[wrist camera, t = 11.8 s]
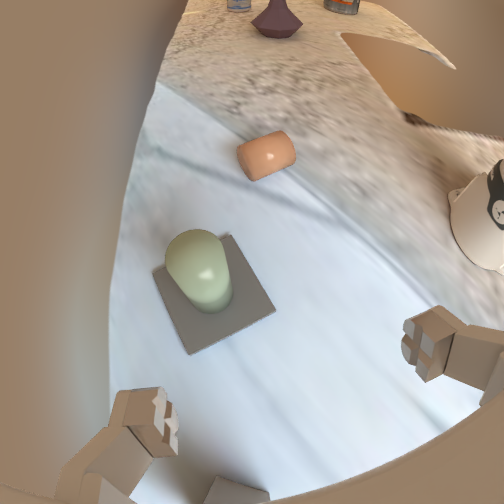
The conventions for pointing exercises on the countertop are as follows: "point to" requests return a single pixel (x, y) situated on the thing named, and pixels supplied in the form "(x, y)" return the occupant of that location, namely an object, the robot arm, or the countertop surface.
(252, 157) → the tan rounded cylinder
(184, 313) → the plate
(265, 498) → the perfume bottle
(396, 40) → the countertop surface
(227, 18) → the countertop surface
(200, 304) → the pale green rounded cylinder
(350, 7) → the supplement tub
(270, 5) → the flask
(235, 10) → the supplement tub
